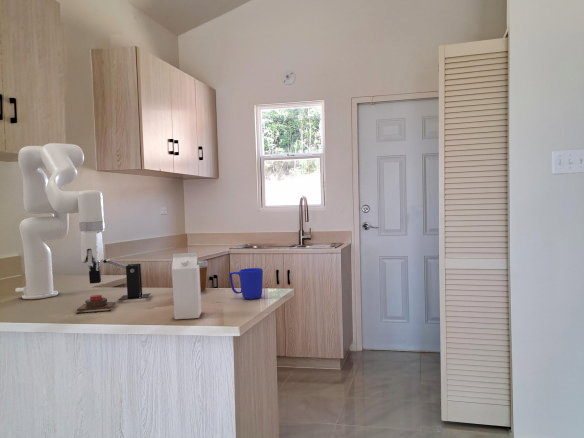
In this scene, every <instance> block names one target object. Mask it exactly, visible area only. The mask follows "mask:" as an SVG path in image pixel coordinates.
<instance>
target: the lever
mask: <svg viewBox="0 0 584 438" xmlns="http://www.w3.org/2000/svg"><path fill="white" fill-rule="evenodd" d="M102 262H103V264H109V265H112V266H116V267H119V268H121V269H125V270H126V266H127V265H126V264H123V263H120V262H117V261H114V260H111V258H109V257H108V258H105V259H103V260H102Z"/></svg>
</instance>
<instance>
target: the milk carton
mask: <svg viewBox="0 0 584 438" xmlns="http://www.w3.org/2000/svg"><path fill="white" fill-rule="evenodd" d="M198 260H199V257H198V252H187V253H173V254H172V264H171V279H172V297H173V298H172V299H173V316H174V320H188V319H199V318H200V317H201V314H202V293H201V292H202V291H200V271H199V262H198Z"/></svg>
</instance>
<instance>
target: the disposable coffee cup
mask: <svg viewBox="0 0 584 438" xmlns="http://www.w3.org/2000/svg"><path fill="white" fill-rule="evenodd" d="M198 262H199V271H200V291H201V292H205V291H206V290H207V289H206V288H207V274H208V268H209V267H208V266H209V263H208V261H207V260H204V259H202V260H200V259H198Z"/></svg>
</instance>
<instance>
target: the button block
mask: <svg viewBox="0 0 584 438" xmlns="http://www.w3.org/2000/svg"><path fill="white" fill-rule="evenodd" d="M84 302H85V303H83V304H82V305H81V306H79V307H78V308H77V310H76V313H77V315H82V314H84V315H85V314H95V313H96V314H97V313H108V312H111V311H112V309H111V308H112V307H113V306H114V305H116V302H115V301H108V298H107V297H102V300H99V301H90V298H89V299H86V300H85V301H84Z"/></svg>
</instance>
